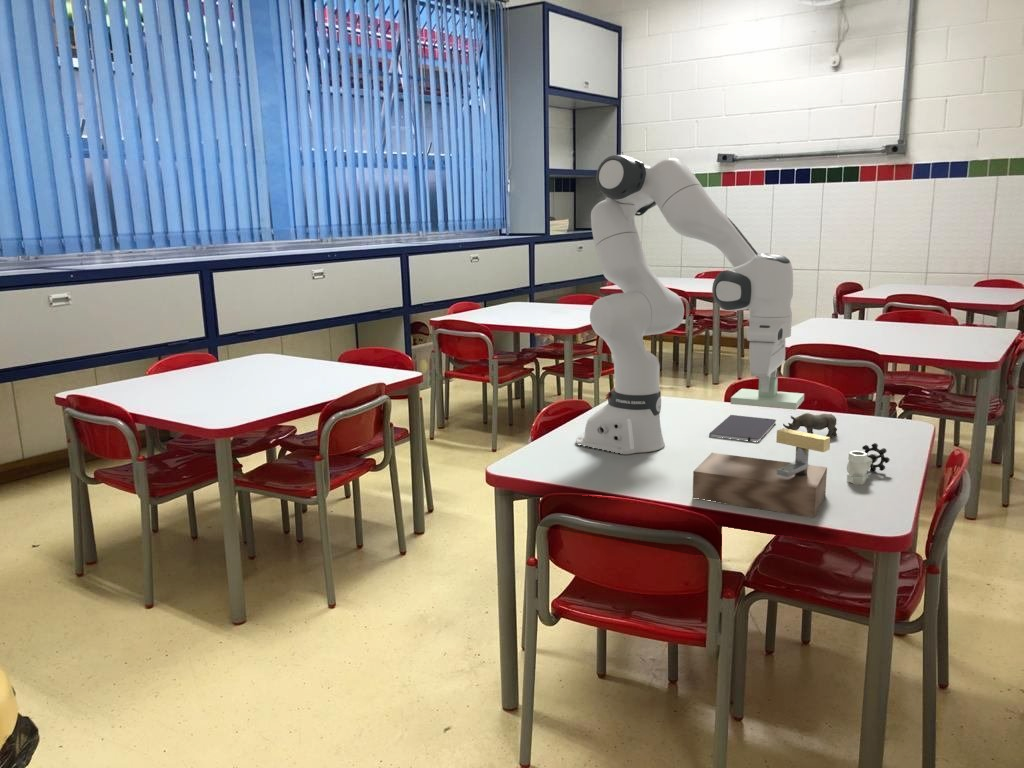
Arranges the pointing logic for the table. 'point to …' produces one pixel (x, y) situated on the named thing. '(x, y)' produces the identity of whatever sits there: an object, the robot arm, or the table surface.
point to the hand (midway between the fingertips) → (767, 389)
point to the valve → (864, 463)
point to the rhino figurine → (814, 423)
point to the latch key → (800, 449)
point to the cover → (768, 397)
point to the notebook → (743, 428)
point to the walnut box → (759, 484)
